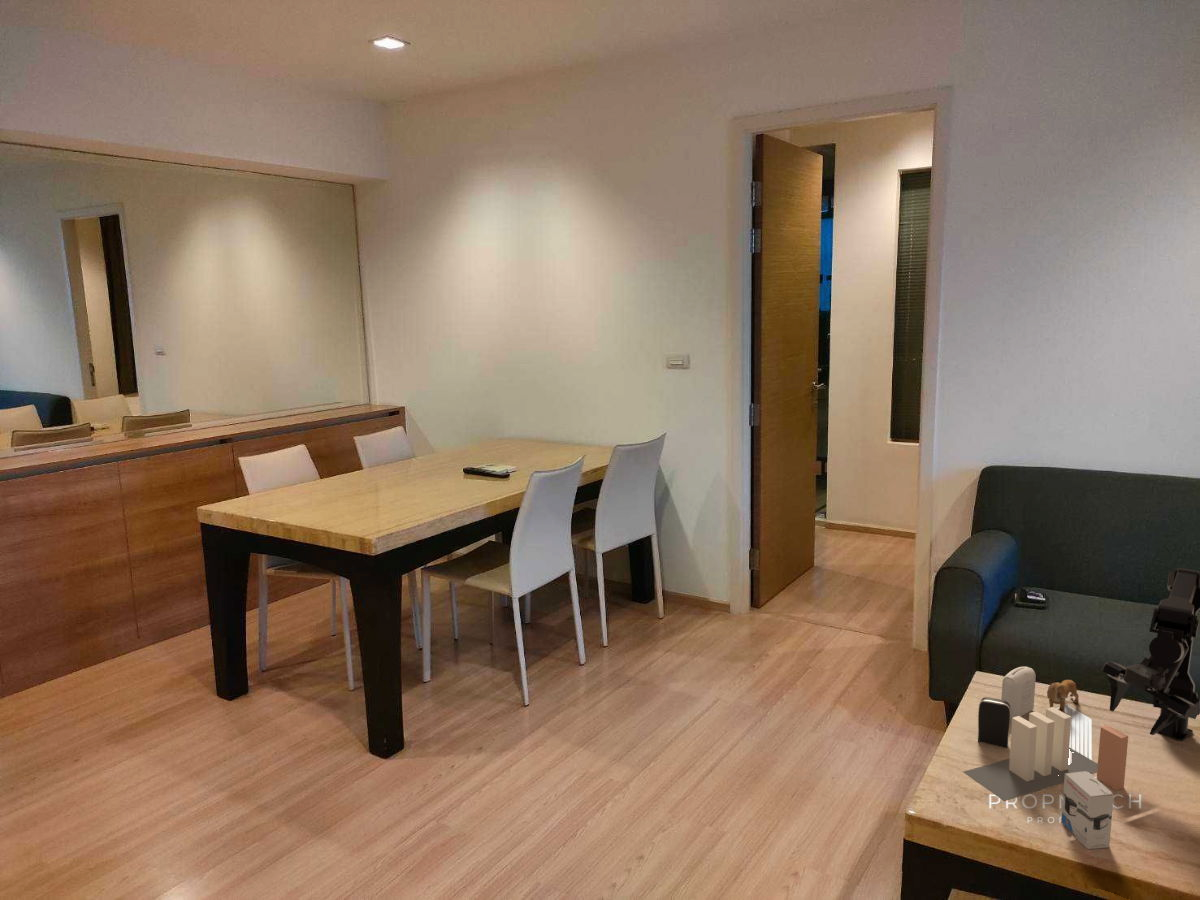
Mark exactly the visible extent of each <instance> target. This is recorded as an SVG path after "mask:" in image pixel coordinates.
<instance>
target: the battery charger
mask: <svg viewBox="0 0 1200 900" xmlns="http://www.w3.org/2000/svg"><path fill="white" fill-rule="evenodd" d="M978 705H979V706H978V713H977V714H978V716H977V723H978V724H977V727H978V728H977V731H978V732H977V742H978V743H983V744H986V745H992V746H996V747H1001V748H1006V749H1007V748H1009V738H1010V737H1009V736H1010V734H1009V733H1010V727H1011V719H1010V714H1011V708H1010V704H1009V703H1008V702H1007V701H1004V700H1001V699H999V698H994V697H988V696H987V697H986V696H985V697H982V698H981V699H980V701H979V704H978Z"/></svg>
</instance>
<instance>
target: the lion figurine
mask: <svg viewBox="0 0 1200 900" xmlns="http://www.w3.org/2000/svg"><path fill="white" fill-rule="evenodd" d="M1047 688H1048V689H1047V691H1046V693H1047V694H1046V696H1047V697H1046V698H1048V701H1049V702H1048V703H1049V708H1050V707H1054V708H1055V706H1054V704H1055V705H1059V708H1058V710H1059V711H1061V712H1063V713H1065V704H1066V699H1067V698H1068V697H1071V698H1072V697H1074V700H1073V703H1074V704H1076V705H1077V704H1079V702H1080V700H1079V694H1078V690H1077V684H1076V683H1075V682H1074V681H1073V680H1072V679H1064V680H1063V681H1061V682H1058V681H1057V682H1056V681H1055V682H1051V683H1050V685H1049V686H1048V687H1047ZM1069 693H1070V694H1069ZM1065 714H1066V713H1065Z"/></svg>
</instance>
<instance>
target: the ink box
mask: <svg viewBox="0 0 1200 900" xmlns="http://www.w3.org/2000/svg"><path fill="white" fill-rule="evenodd" d="M1114 798H1115V797H1114V794H1113V792H1112V791H1111V790H1110V789H1109V788H1108V787H1107V786H1105V785H1104V784H1103V782H1102V781H1100V780H1099V779H1097V777H1095V776H1094V774H1090V773H1089V772H1086V771H1082V772H1072V773H1065V778H1064V783H1063V793H1062V808H1061V824H1063V825H1064V826H1065V827H1066V828H1067V829H1068V830H1069V831H1070V832H1071V833H1073V834H1074V835H1073V836H1074V838H1075V839H1076V840H1077V841H1079V842H1080V844H1082V845H1083V846H1084V847H1085V848H1086V849H1087V850H1094V849H1105V848H1110V847H1111V846H1110V844H1111V833H1112V832H1111V831H1112V820H1113V819H1112V817H1113V808H1114V807H1113V806H1114Z"/></svg>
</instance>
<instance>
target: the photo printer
mask: <svg viewBox="0 0 1200 900" xmlns="http://www.w3.org/2000/svg"><path fill="white" fill-rule="evenodd" d="M1036 677H1037V675H1036V672H1035V671H1034V669H1033V668H1031V667H1028V666H1019V667H1016V668H1014V669H1012V670H1010V671H1009V672H1008V673H1007V674H1006V675H1005V676H1004V677H1003V679H1002V684H1001V688H1002V689H1001V699H1000V700H1004V701H1007V702H1008V703H1009V704H1010V708H1011V714H1010V720H1012V718H1013V717H1017V716H1020V717H1023V716H1024V715H1027V714H1029V713H1032V712H1033V711H1034V708H1035V707H1034V706H1035V694H1036Z"/></svg>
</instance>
